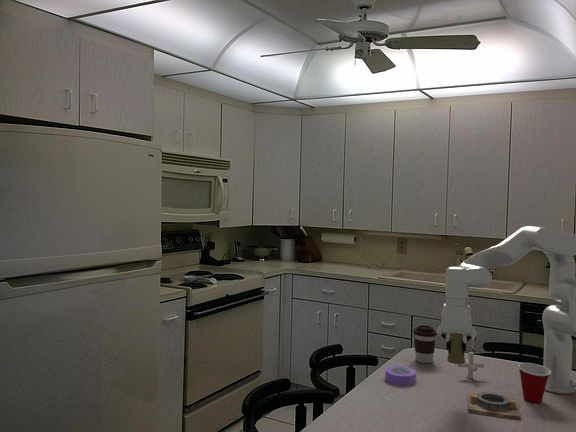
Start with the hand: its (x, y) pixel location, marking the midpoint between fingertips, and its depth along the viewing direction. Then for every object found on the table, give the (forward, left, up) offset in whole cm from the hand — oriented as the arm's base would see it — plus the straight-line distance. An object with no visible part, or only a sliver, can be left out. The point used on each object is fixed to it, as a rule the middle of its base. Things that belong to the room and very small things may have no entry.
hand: (456, 351), depth 185 cm
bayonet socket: (-13, +3, -17) cm, 21 cm away
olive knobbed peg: (0, 0, -4) cm, 4 cm away
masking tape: (+20, -12, -17) cm, 29 cm away
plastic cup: (-27, -8, -17) cm, 32 cm away
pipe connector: (-6, -25, -17) cm, 30 cm away
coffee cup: (+13, -40, -17) cm, 45 cm away
